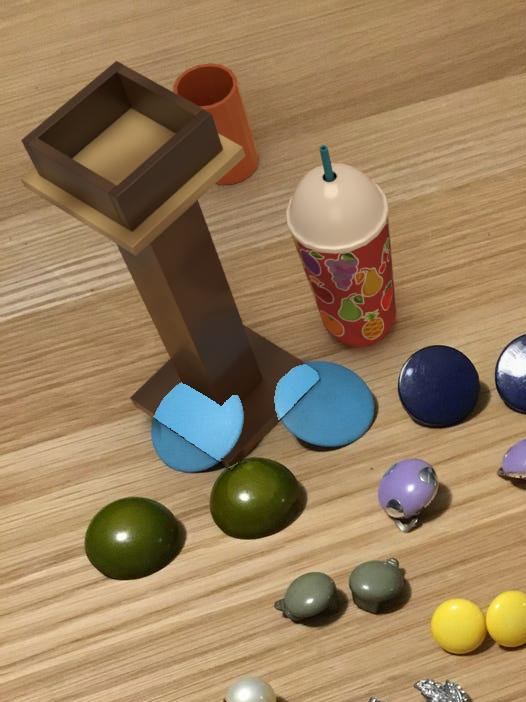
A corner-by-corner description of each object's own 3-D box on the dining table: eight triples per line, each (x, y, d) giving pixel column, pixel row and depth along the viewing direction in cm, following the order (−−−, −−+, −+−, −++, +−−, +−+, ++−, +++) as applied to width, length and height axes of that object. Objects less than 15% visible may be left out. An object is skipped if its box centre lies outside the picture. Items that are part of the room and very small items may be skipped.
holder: (134, 405, 101) (-11, 144, 75) (223, 318, 105) (116, 40, 78) (231, 471, 98) (116, 221, 71) (320, 379, 101) (242, 109, 75)
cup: (187, 168, 113) (159, 92, 104) (227, 132, 114) (203, 54, 106) (231, 193, 111) (206, 118, 103) (271, 156, 113) (250, 79, 105)
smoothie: (399, 280, 105) (369, 100, 87) (412, 350, 102) (385, 178, 84) (311, 296, 105) (263, 118, 87) (322, 366, 102) (274, 197, 83)
